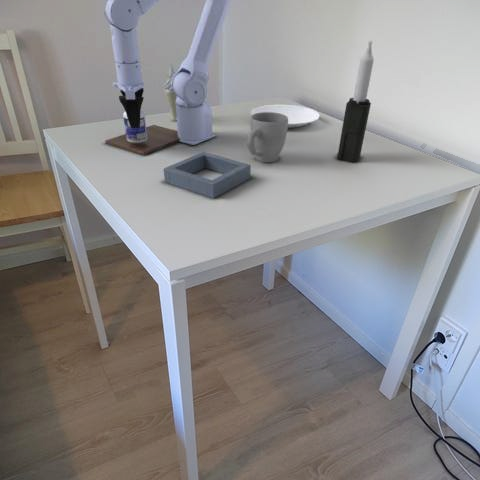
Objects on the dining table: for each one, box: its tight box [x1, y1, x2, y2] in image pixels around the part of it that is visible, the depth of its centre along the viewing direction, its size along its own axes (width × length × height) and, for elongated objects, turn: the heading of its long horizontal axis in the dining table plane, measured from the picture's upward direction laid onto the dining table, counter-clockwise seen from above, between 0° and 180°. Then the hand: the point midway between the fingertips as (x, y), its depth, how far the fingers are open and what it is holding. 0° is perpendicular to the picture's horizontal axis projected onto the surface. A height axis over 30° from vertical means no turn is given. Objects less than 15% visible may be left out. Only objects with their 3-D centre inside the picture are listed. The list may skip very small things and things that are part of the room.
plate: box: [250, 103, 320, 129], centre depth 130 cm, size 21×21×2 cm
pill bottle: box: [122, 110, 147, 143], centre depth 107 cm, size 5×5×9 cm
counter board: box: [104, 124, 180, 156], centre depth 114 cm, size 18×14×1 cm
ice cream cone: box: [163, 63, 177, 122], centre depth 124 cm, size 5×5×15 cm
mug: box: [246, 112, 289, 163], centre depth 102 cm, size 12×9×10 cm
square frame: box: [163, 151, 252, 199], centre depth 94 cm, size 14×14×3 cm
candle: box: [336, 40, 375, 163], centre depth 99 cm, size 5×5×25 cm
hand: (135, 123), depth 107 cm, fingers closed on pill bottle, 5 cm apart
